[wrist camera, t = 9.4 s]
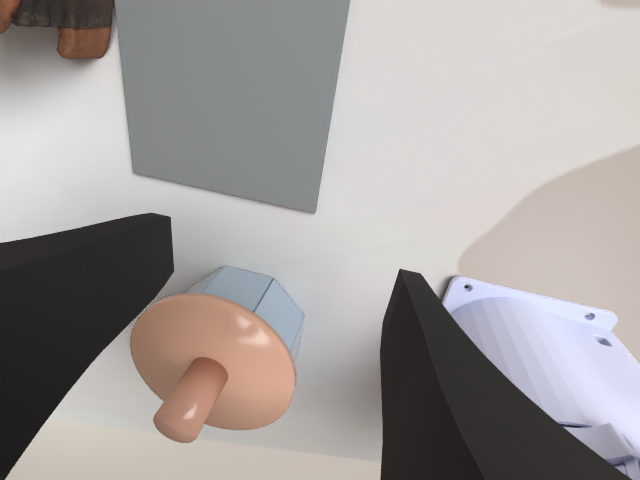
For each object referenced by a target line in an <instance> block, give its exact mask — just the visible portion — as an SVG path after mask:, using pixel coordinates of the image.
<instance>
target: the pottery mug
mask: <svg viewBox="0 0 640 480" xmlns="http://www.w3.org/2000/svg"><path fill="white" fill-rule="evenodd" d="M113 5H114V0H0V34H2V33H4V32H5V31H6V30H7V29H8V28H9V26H10V24H11V23H14V24H15V25H17V26H29V27H31V26H33V27H35V26H45V27H50V26H58V31H59V41H58V47H57V51H58V52H59V54H60V55H61V56H62V57H64V58H68V59H78V58H92V57H98V58H99V57H103V56H104V53H105V52H106V50H107V47H108V43H109V40H110V31H111V28H110V26H111V24H112V8H113Z"/></svg>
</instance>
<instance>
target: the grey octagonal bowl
mask: <svg viewBox="0 0 640 480" xmlns="http://www.w3.org/2000/svg"><path fill="white" fill-rule="evenodd" d="M189 292H191V293H204V294H211V295H215V296H219V297H222V298H225V299H228V300H231V301H233V302H236V303H238V304H240V305H242V306H244V307H246V308H247V309H249V310H251V311H252V312H254V313H255V314H257V315H258V316H259V317H261V318H262V319H263V320H265V321H266V322H267V323H268V324H269V325H270V326H271V327H272V328H273V329H274V330H275V331H276V332H277V333H278V334H279V336H280V337H281V338H282V339H283V341H284V342H285V344H286V345H287V347H288V349H289V351H290V353H291V355H292V358H293V361H294V362H295V359H296V356H297V353H298V350H299V344H300V339H301V333H302V327H303V321H304V314H303V313H302V311H301V310H300V309H299V308H298V306H297V305H296V304H295V303H294V302H293V300H292V299H291V298H290V297H289V295H288V294H287V293H286V292H285V291H284V289H283V288H282V287H281V286H280V284H279V283H278V282H277V281H276V280H275V278H274V279H273V277H269V276H265V275H261V274H257V273H253V272H249V271H245V270H241V269H237V268H233V267H229V266H223V267H221V268H220V269H218V270H217V271H215V272H214V273H212V274H210V275H209V276H207V277H206V278H204V279H202V280H201V281H199V282H198V283H196V284H194V285H193V286H192V287H191V288H190V289H189V290H188V291H187V292H186V293H189Z"/></svg>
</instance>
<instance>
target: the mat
mask: <svg viewBox="0 0 640 480" xmlns="http://www.w3.org/2000/svg"><path fill="white" fill-rule="evenodd" d="M349 4H350V0H115V9H116V18H117V27H118V37H119V46H120V55H121V65H122V74H123V83H124V93H125V102H126V111H127V120H128V130H129V139H130V148H131V158H132V167H133V173H136V174H140V175H144V176H149V177H153V178H158V179H162V180H167V181H171V182H176V183H180V184H185V185H189V186H194V187H198V188H203V189H207V190H212V191H216V192H221V193H225V194H230V195H234V196H239V197H243V198H248V199H252V200H256V201H261V202H265V203H270V204H274V205H279V206H283V207H288V208H292V209H297V210H301V211H306V212H310V213H315V212H316V207H317V201H318V195H319V189H320V183H321V176H322V170H323V164H324V158H325V152H326V146H327V139H328V133H329V127H330V121H331V115H332V109H333V102H334V96H335V90H336V84H337V78H338V72H339V66H340V59H341V53H342V47H343V41H344V35H345V29H346V22H347V16H348V10H349Z"/></svg>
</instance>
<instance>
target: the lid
mask: <svg viewBox="0 0 640 480" xmlns="http://www.w3.org/2000/svg"><path fill="white" fill-rule="evenodd" d="M130 348H131V354H132V358H133V361H134V364H135V366H136V368H137V370H138V372H139V374H140V375H141V377H142V378H143V380H144V381H145V382H146V384H147V385H148V386H149V387H150V389H151V390H152V391H153V392H154V393H155V394H156V395H157V396H158V397H159V398H160V399H162V400H163V401H164V403H163V404H162V406H161V407H160V408H159V410H158V411H157V413H156V414H155V416H154V419H153V421H154V424H155V426H156V428H157V429H158V430H159V431H160V432H161V433H162V434H163V435H164V436H166V437H167V438H169V439H172V440H174V441H177V442H181V443H189V442H192V441H194V440H195V439H196V438H197V436H198V434H199V432H200V430H201V428H202V427H203V425H204V424H207V425H210V426H213V427H218V428H222V429H230V430H250V429H256V428H260V427H263V426H266V425H268V424H270V423H273V422H274V421H275V420H277V419H278V418H280V417H281V416H282V415H283V414H284V412H285V411H286V410H287V408H288V406H289V404H290V402H291V399H292V396H293V393H294V389H295V385H296V369H295V364H294V361H293V358H292V355H291V353H290V351H289V349H288V347H287V345H286V344H285V342H284V341H283V339H282V338H281V337H280V336H279V334H278V333H277V332H276V331H275V330H274V329H273V328H272V327H271V326H270V325H269V324H268V323H267V322H266V321H265V320H263V319H262V318H261V317H259V316H258V315H257V314H255V313H254V312H252V311H251V310H249V309H247V308H246V307H244V306H242V305H240V304H238V303H236V302H233V301H231V300H228V299H225V298H222V297H219V296H215V295H211V294H204V293H191V292H189V293H179V294H174V295H170V296H167V297H165V298H162V299H160V300H159V301H157V302H156V303H154V304H153V305H152V306H151V307H150V308H149V309H148V310H146V311H145V312H144V313H143V314H142V315H141V316H140V317H139V319H138V320H137V321H136V323H135V325H134V327H133V329H132V333H131V337H130Z"/></svg>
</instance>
